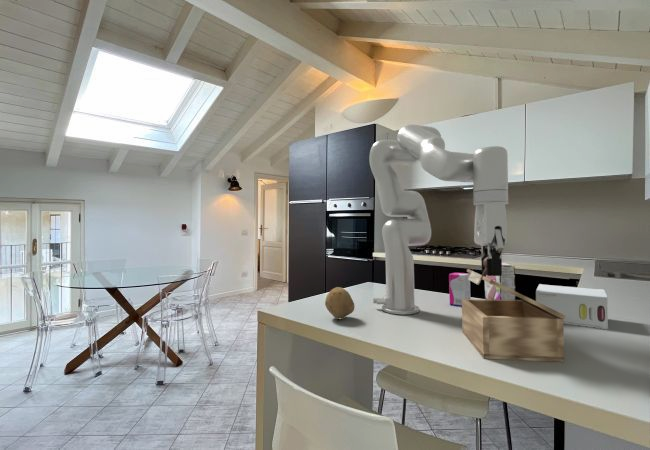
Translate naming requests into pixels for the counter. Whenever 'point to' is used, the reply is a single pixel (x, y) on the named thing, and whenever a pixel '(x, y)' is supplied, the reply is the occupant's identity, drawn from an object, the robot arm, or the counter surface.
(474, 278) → the wooden box lid
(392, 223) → the robot arm
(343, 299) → the brown potato
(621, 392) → the counter surface
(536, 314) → the wooden box
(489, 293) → the candy bar box
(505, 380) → the counter surface
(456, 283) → the supplement box
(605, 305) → the supplement box
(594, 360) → the counter surface
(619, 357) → the counter surface
